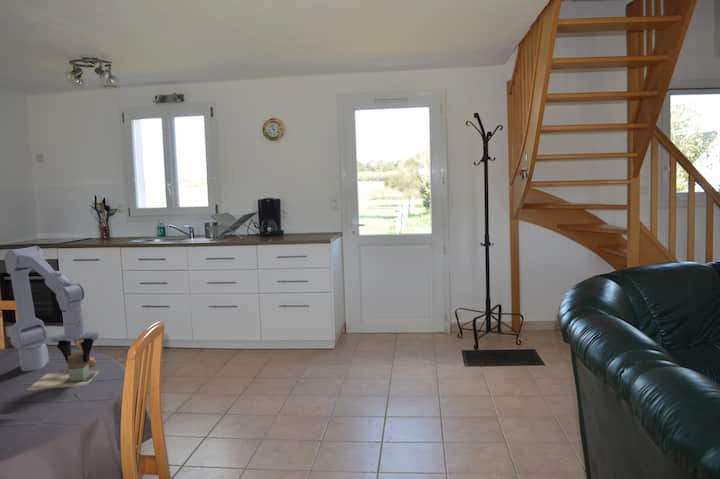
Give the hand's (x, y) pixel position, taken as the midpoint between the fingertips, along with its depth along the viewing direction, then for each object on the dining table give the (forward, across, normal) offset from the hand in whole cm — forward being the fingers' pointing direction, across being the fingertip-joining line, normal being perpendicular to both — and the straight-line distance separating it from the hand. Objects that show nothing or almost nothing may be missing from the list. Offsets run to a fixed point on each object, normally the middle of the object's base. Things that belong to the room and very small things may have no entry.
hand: (78, 361), depth 177 cm
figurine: (+7, -2, +12) cm, 14 cm away
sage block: (+6, 0, 0) cm, 6 cm away
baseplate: (+7, -4, 0) cm, 8 cm away
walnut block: (+2, 0, 0) cm, 2 cm away
